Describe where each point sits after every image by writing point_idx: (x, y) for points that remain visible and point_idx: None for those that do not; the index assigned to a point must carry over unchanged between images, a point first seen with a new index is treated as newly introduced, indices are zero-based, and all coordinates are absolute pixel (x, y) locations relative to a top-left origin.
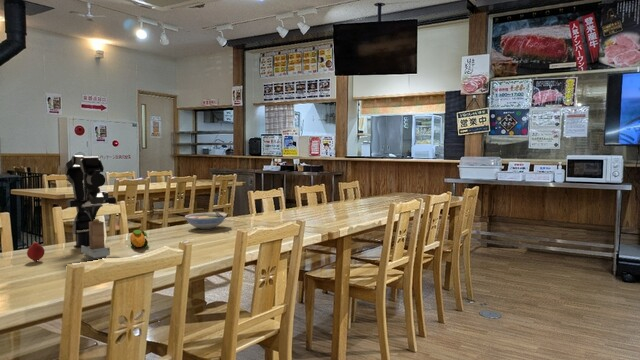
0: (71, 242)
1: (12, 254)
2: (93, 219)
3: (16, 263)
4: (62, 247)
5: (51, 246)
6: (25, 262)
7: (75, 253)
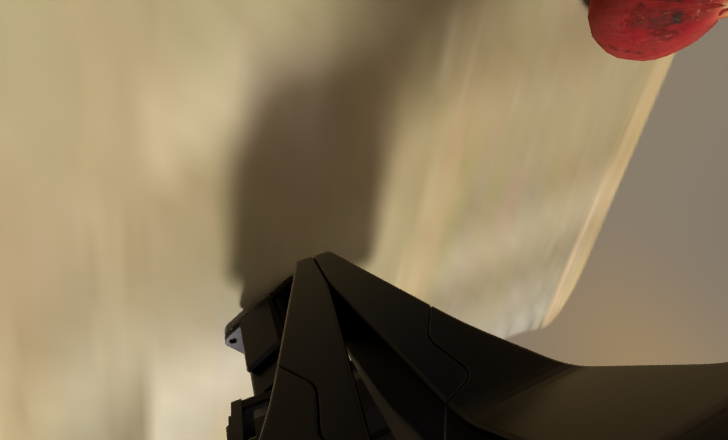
0: None
1: (571, 257)
2: (318, 271)
3: None
4: None
5: None
6: None
7: (374, 118)
